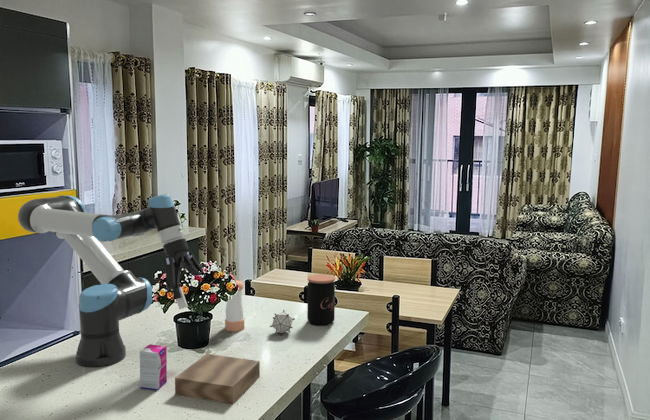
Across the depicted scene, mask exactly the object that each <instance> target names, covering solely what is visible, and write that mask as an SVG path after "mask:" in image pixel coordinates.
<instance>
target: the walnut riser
mask: <svg viewBox="0 0 650 420" xmlns="http://www.w3.org/2000/svg"><path fill="white" fill-rule="evenodd" d="M260 363H261V362H260V360H255V359H247V358H239V357H234V356H233V357H232V356H227V355H225V356H224V355H218V354H211V353H205V354H204V355H203V356H201V358H199V359H198V360H196V361H195V362H194V363H192V364H191V365H190V366H188V367H187V368H186V369H184V370H183V371H181V372H180V373H179V374H178V375H177V376H175V378H174V389H175V392H174V394H175V395H176V396H181V397H182V396H183V397H189V398H192V399H193V398H194V399H201V400H208V401H213V402H220V403H223V404H224V403H225V404H232V405H234V404H235V403H236V401H238V400H239V399H240V397H242V395H244V393H245V392H246V391H247V390H248V389H249V388H250V387H251V386H253V384H255V382H256V381H257V380H259V378H260V373H261V372H260V371H261V370H260V368H261V365H260Z"/></svg>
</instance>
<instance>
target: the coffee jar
mask: <svg viewBox="0 0 650 420" xmlns="http://www.w3.org/2000/svg"><path fill="white" fill-rule="evenodd" d="M307 280H308V282H307V311H306V312H307V313H306V314H307V316H306V317H307V318H306V319H307V321H308V323H309V324H310V325H312V326H316V327H325V326H330V325H332V324H333V322H335V309H336V307H335V306H336V305H335V304H336V303H335V297H336V296H335V295H336V291H335V290H336V287H335V285H336V284H335V280H336V278H335V276H333V275H330V274H325V273H324V274H323V273H322V274H321V273H320V274H319V273H317V274H312V275H309V276H308V277H307Z"/></svg>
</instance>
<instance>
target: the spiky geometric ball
mask: <svg viewBox="0 0 650 420" xmlns="http://www.w3.org/2000/svg"><path fill="white" fill-rule="evenodd" d="M272 319H273V321H272V324H271V325H270V326H269V328H273V329H275V332H278V333H279V335H280V336H282V335H283V334H284V333H286V332H291V330H290V329H293V326H292V325H293V321H294V320H295V318H294V317H293V318H292V317H291V316H290V314H289V313H286V312H285V309H283V310H282V312H280V313H274V317H272Z"/></svg>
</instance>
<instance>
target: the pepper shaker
mask: <svg viewBox="0 0 650 420" xmlns="http://www.w3.org/2000/svg"><path fill="white" fill-rule="evenodd" d="M234 279H235V282H236V283H237V285H238V286H239V290H238V292H237V294H236V295H235V296H232V297H233V300H232V301H228V302H227V301H226V305H225V306H226V307H225V320H224V329H225V330H226V331H228V332H239V331H243V330H244V329H245V318H244V306H243V296H242V294H243V293H242V292H243V289H244V287H245V286H244V283H243V282H242V281H240V280H237V279H236V278H234Z"/></svg>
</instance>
